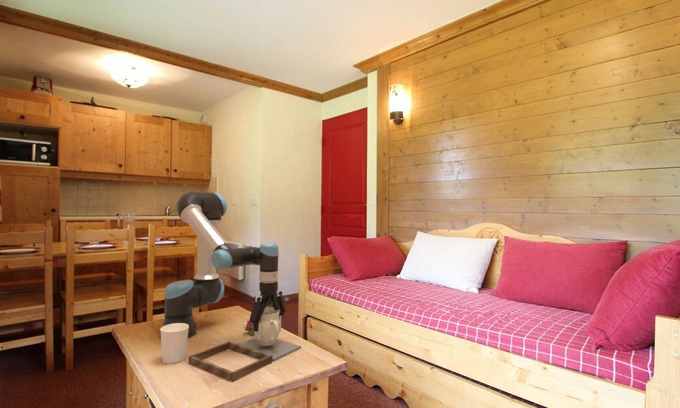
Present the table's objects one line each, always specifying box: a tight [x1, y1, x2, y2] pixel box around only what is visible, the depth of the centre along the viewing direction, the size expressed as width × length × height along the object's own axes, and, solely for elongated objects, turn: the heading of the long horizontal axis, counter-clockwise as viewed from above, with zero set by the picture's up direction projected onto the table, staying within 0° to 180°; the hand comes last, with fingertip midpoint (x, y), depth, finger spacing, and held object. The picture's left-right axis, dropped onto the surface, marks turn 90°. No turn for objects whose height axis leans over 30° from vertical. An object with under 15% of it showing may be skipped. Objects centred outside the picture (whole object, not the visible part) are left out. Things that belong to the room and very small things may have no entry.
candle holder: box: [159, 323, 189, 365], centre depth 135 cm, size 10×10×12 cm
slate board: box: [238, 338, 302, 362], centre depth 146 cm, size 22×16×1 cm
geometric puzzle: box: [243, 320, 254, 337], centre depth 163 cm, size 7×7×8 cm
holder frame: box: [187, 341, 273, 383], centre depth 132 cm, size 24×18×2 cm
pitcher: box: [253, 306, 280, 346], centre depth 146 cm, size 11×18×14 cm, turn 36°
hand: (268, 334), depth 146 cm, fingers closed on pitcher, 11 cm apart
